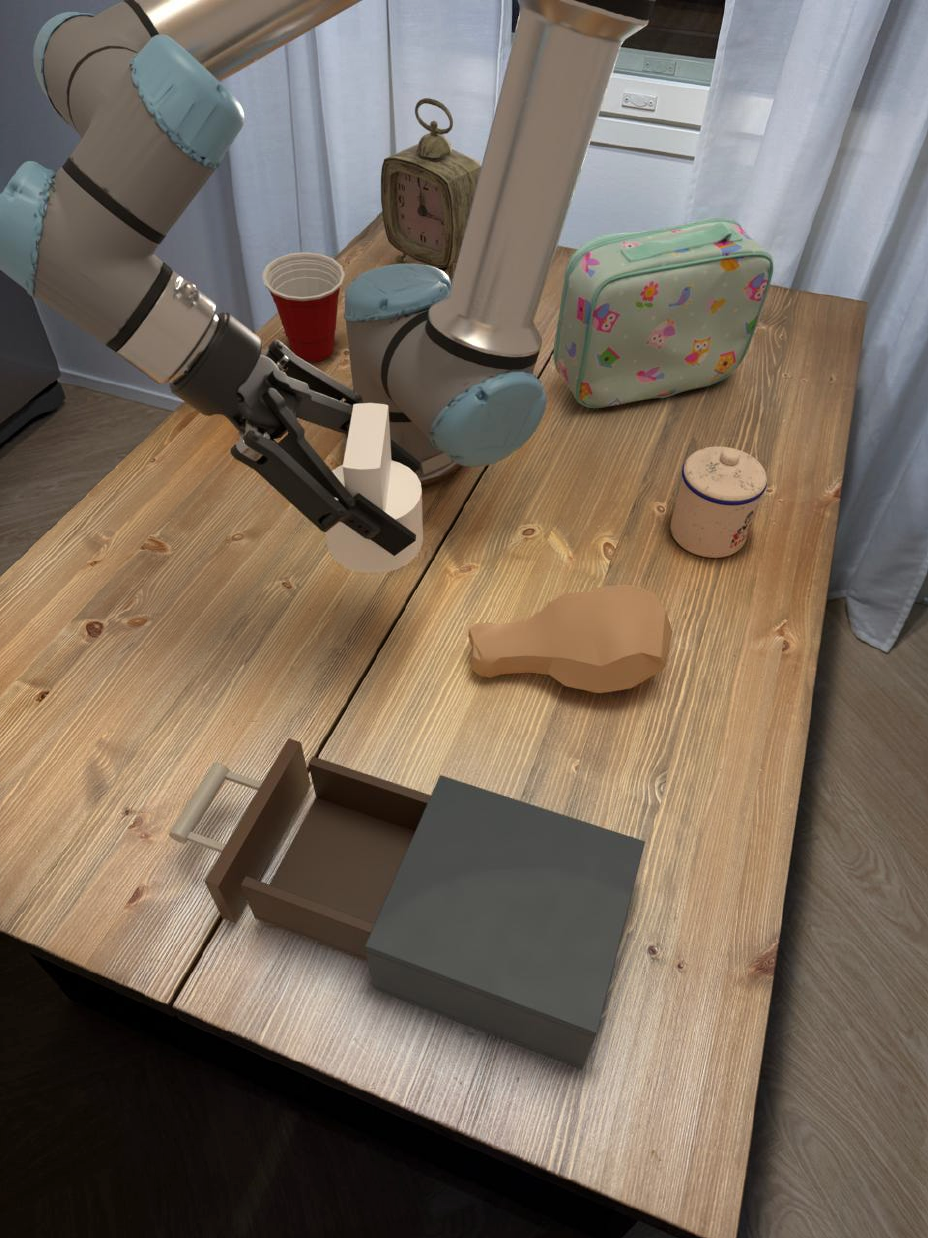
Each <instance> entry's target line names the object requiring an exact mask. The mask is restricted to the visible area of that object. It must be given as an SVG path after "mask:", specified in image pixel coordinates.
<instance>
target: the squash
mask: <svg viewBox="0 0 928 1238" xmlns="http://www.w3.org/2000/svg"><path fill="white" fill-rule="evenodd" d="M669 619H670V618H669V616H668V614H667V610H666V609H665V607H664V605H663V603H662V602H661V600H660V598H659V596H658V594H657V592H655V591H652V590H651V591H650V590H648V589H645V588H641V587H638V586H635V585H631V584H629V583H624V584H611V585H605V586H599V587H593V588H591V589H589V590H586V591H585V590H584V591H576V592H570V593H568V592H567V593H562V594H561V595H559V596H557V597H555V598H554V599H553V600H551V601H550V602H548V603H547V604H546V605H545V606H544V607H543V609H542V610H540V611H539V612H537V613H535V614H534V615H532V616H530V617H529V618H527V619H525V620H519V621H511V622H505V623H492V622H477V623H474V624H473V625H472V626H470V627H469V628H468V634H467V635H468V636H467V637H468V641H469V643H470V646H471V649H472V653H471V660H470V667H469V668H470V669H471V670H472V671H473V672H474V673H476V674H477V676H479V677H480V678H489V679H490V678H494V677H497V676H498V677H499V676H501V675H508V674H525V673H526V674H529V673H530V674H531V673H532V674H539V675H547V676H550V677H551V678H553V679H555V680H556V681H557V682H559V683H560V684H562V685H563V686H564V687H566V688H567V687H568V688H573V689H578V690H583V691H587V692H589V693H591V694H603V693H610V692H611V693H612V692H617V691H623V690H629V689H633V688H634V687H636V686H638V685H639V684H641V683H643V682H645V681H646V680H648V679H650V678H651V677H653V676H655V675H657V674H658V673H660V672H662V671H663V670H664V669H666V667H667V663H668V657H669V652H670V647H671V643H672V642H671V641H672V636H673V628H672V626H671V623H670V620H669Z"/></svg>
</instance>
